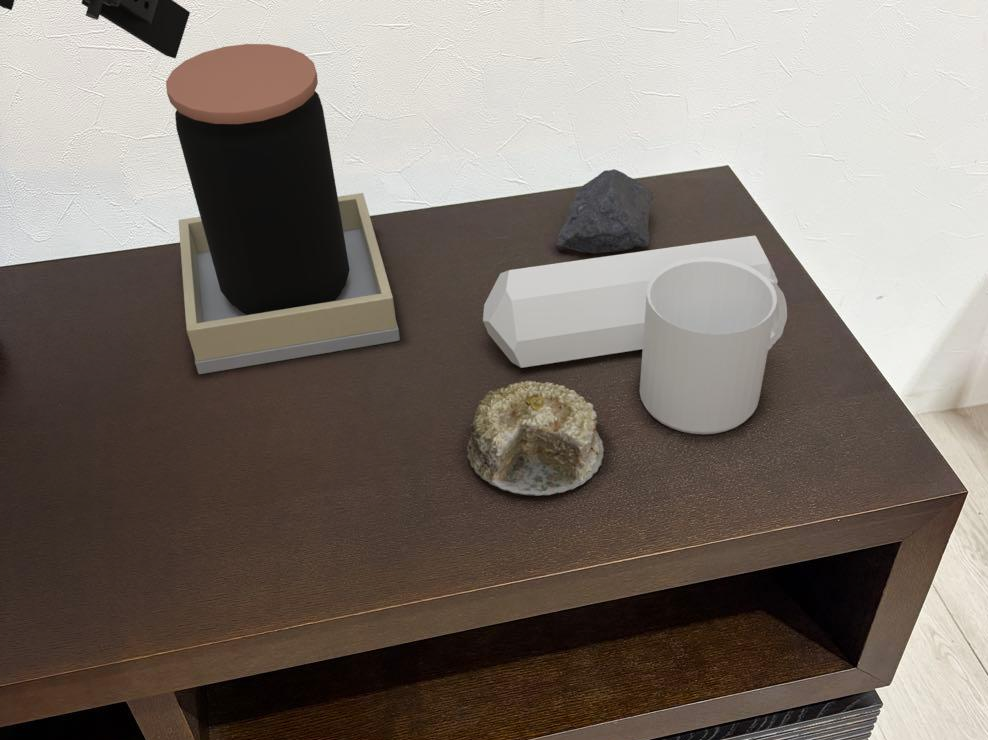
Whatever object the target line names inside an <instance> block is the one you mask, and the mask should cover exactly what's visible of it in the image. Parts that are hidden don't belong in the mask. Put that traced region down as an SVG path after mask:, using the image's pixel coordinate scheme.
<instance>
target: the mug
mask: <svg viewBox="0 0 988 740" xmlns="http://www.w3.org/2000/svg"><path fill="white" fill-rule="evenodd" d="M787 306H788V305H787V299H786V297H785V294H784V292H783V290H782V289H781V288H780V286H779V285H778V283H777V284H776V283H775V282H774V281H773V280H771V279H770V278H769V277H767V276H764V275H763V274H761V273H760V272H758V271H757V270H755V269H753V268H752V267H750V266H747V265H745V264H742V263H740V262H736V261H733V260H729V259H722V258H713V257H699V258H690V259H685V260H680V261H677V262H674V263H671V264H669V265H667V266H665V267H663V268H662V269H661V270H659V271H658V272H657V273H655V275H654V276H653V277H652V278H651V280H650V282H649V284H648V286H647V296H646V310H645V323H644V337H643V349H641V350H642V351H641V366H640V367H641V368H640V380H639V392H638V393H639V396H640V397H639V398H640V400H641V402H642V405H643V406H644V408H645V409H646V411H647V412H648V413H649V414H650V415H651V417H653V418H654V419H655V420H656V421H658V422H659V423H660V424H663V425H664V426H666V427H667V428H670V429H673V430H675V431H679V432H682V433H687V434H691V435H715V434H719V433H724V432H728V431H731V430H733V429H736V428H737V427H739V426H740V425H742V424H744V423H745V422H746V421H747V420H748V419H749V418H750V417H752V416H753V414H754V413H755V411H756V409H757V408H758V406H759V401H760V397H761V393H762V391H761V390H762V386H763V381H764V375H765V370H766V363H767V359H768V358H767V357H768V353H769V350H771V349H772V348H773V346H774V345H775V344H776V343H777V341H778V340H779V339H780V338H781V337H782V335H783V333H784V330H785V326H786V323H787V320H788V307H787Z"/></svg>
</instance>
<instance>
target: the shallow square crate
mask: <svg viewBox="0 0 988 740" xmlns="http://www.w3.org/2000/svg"><path fill="white" fill-rule="evenodd" d="M364 194H365V193H363V192H359V193H352V194H347V195H346V194H345V195H339V196H338V195H337V196H338V202H339V208H340V215H341V221H342V227H343V233H344V239H345V245H346V251H347V257H348V263H349V269H350V271H349V274H348V278H347V282H346V285H345V287H344V288H343V289H342V292H341V294H340V295H339V297H338V298H337V299H336V300H335V301H332V302H326V303H319V304H313V305H307V306H301V307H295V308H288V309H282V310H276V311H270V312H264V313H257V314H251V315H246V314H244V313H242V312H241V311H239V310H238V309H237V308H236V307H234V306H233V305H231V303H230V302H229V301H228V300H227V298H226V297H225V296H224V295H223V293H222V292H221V290H220V286H219V283H218V279H217V275H216V272H215V268H214V264H213V261H212V257H211V253H210V250H209V246H208V243H207V239H206V235H205V232H204V228H203V224H202V221H201V217H200V216H195V217H188V218H182V219H178V231H179V246H180V258H181V275H182V287H183V301H184V315H185V327H186V334H187V337H188V341H189V343H190V347H191V350H192V352H193V356H194V364H195V367H196V371H197V373H198V375H205V374H210V373H217V372H221V371H228V370H234V369H239V368H240V369H241V368H245V367H251V366H258V365H263V364H269V363H275V362H282V361H288V360H293V359H299V358H305V357H311V356H317V355H322V354H323V355H324V354H327V353H328V354H329V353H335V352H340V351H346V350H347V351H348V350H352V349H358V348H364V347H369V346H370V347H371V346H376V345H383V344H389V343H393V342H399V341H401V337H400V330H399V326H398V322H397V317H396V309H395V303H394V296H393V293H392V290H391V286H390V281H389V279H388V276H387V272H386V268H385V265H384V261H383V258H382V255H381V250H380V248H379V244H378V240H377V236H376V233H375V230H374V227H373V223H372V219H371V216H370V212H369V209H368V208H369V207H368V205H367V201H366V198H365V195H364Z"/></svg>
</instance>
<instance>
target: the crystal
mask: <svg viewBox="0 0 988 740" xmlns="http://www.w3.org/2000/svg"><path fill="white" fill-rule="evenodd" d="M699 257H713V258H722V259H729V260H733V261H736V262H740V263H742V264H745V265H747V266H750V267H752V268H753V269H755V270H757V271H758V272H760V273H761V274H763V275H764V276H767V277H769V278H770V279H771V280H773V281H774V282H775V283H776V284H777V285H778V278H777V276H776V273H775V271H774V269H773V266H772V264H771V263H770V260H769V258H768V256H767V254H766V253H765V251H764V249H763V247H762V245H761V243H760V241H759V239H758V238H757V236H756V235H749V236H741V237H734V238H727V239H720V240H712V241H706V242H705V241H704V242H700V243H692V244H685V245H678V246H671V247H664V248H657V249H650V250H649V249H648V250H642V251H636V252H635V251H634V252H627V253H622V254H621V253H620V254H614V255H607V256H600V257H593V258H586V259H585V258H584V259H579V260H578V259H577V260H572V261H563V262H557V263H551V264H550V263H549V264H543V265H535V266H529V267H522V268H516V269H509V270H506V271H503V272H500V273H499V275H498V277H497V279H496V281H495V283H494V285H493V287H492V289H491V291H490V293H489V294H488V297H487V299H486V301H485V302H484V305H483V314H482V322H483V325H484V327H485V329H486V332H487V334H488V336H490V338H491V339H492V340H493V342H494V343H495V344H496V345H497V347H498V348H499V349H500V350H501V351H502V352H503V354H504V355H505V356H506V357H507V359H508V360H509V361H510V362H511V364H514V365H516V366H517V367H519V368H521V369H522V368H528V367H535V366H541V365H548V364H549V365H550V364H554V363H561V362H569V361H572V360H573V361H576V360H581V359H587V358H588V359H589V358H594V357H599V356H606V355H607V356H608V355H613V354H619V353H621V354H622V353H625V352H627V353H628V352H633V351H639V350H643V337H644V323H645V310H646V296H647V286H648V284H649V282H650V280H651V278H652V277H653V276H654V275H655V273H657V272H658V271H659V270H661V269H662V268H663V267H665V266H667V265H669V264H671V263H674V262H677V261H680V260H685V259H690V258H699Z"/></svg>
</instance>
